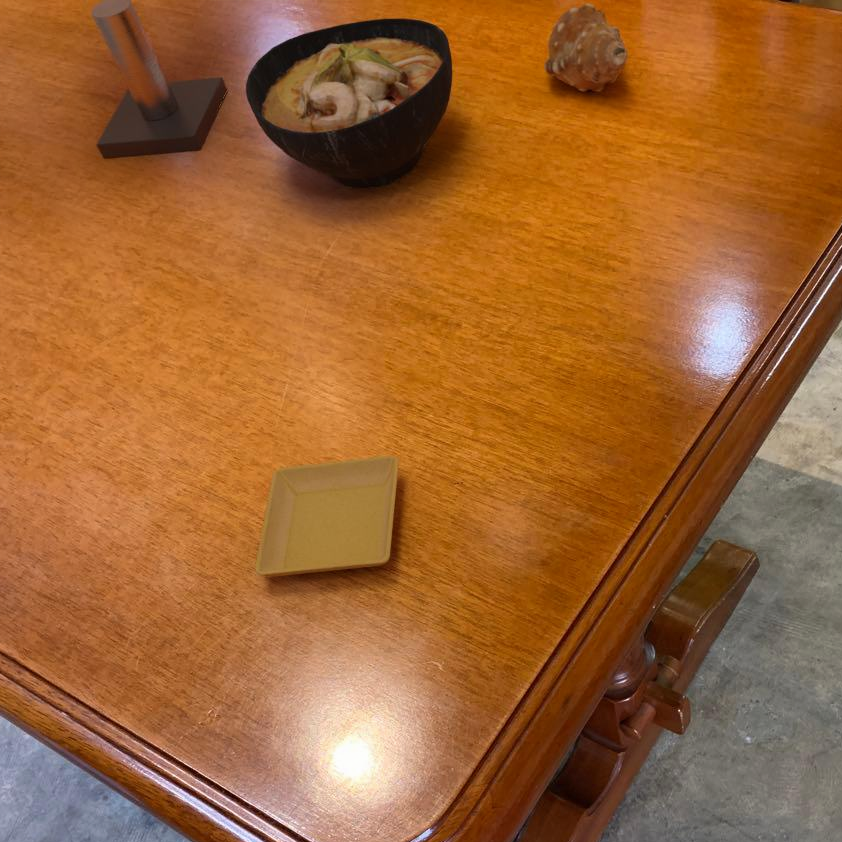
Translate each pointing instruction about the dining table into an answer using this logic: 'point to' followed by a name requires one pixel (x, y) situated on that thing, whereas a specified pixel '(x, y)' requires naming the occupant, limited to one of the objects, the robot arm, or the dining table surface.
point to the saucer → (329, 517)
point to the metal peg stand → (151, 93)
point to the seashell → (585, 49)
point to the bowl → (355, 97)
